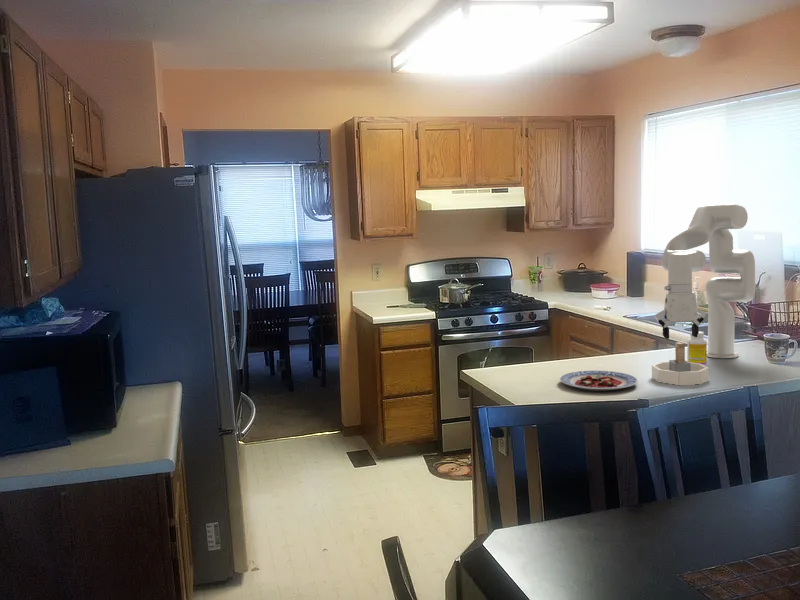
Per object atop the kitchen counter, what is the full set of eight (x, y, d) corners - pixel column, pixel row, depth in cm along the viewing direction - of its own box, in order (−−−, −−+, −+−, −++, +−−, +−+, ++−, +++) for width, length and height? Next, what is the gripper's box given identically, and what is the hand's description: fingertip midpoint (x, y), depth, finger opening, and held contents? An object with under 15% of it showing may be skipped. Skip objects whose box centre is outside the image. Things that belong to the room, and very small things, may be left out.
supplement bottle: (708, 367, 250) (708, 333, 249) (689, 367, 252) (689, 333, 250) (704, 363, 257) (704, 330, 255) (685, 363, 258) (685, 330, 257)
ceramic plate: (636, 396, 216) (636, 387, 216) (555, 392, 226) (554, 383, 225) (639, 378, 240) (639, 369, 240) (565, 375, 250) (565, 367, 249)
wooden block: (675, 376, 236) (675, 342, 235) (681, 375, 236) (681, 342, 235) (679, 378, 233) (678, 344, 232) (684, 377, 233) (684, 343, 232)
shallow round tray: (647, 374, 244) (646, 357, 243) (694, 372, 243) (694, 355, 242) (664, 386, 227) (663, 367, 226) (715, 384, 226) (715, 365, 225)
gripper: (658, 291, 228) (659, 341, 230) (710, 288, 227) (710, 338, 230) (651, 288, 235) (651, 336, 238) (701, 285, 235) (701, 333, 237)
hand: (680, 337), depth 234 cm, fingers open, 9 cm apart
